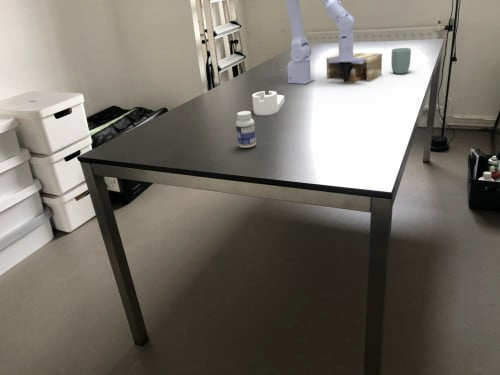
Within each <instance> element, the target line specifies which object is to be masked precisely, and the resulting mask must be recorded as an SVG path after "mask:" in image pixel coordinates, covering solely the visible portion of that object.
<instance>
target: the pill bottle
mask: <svg viewBox="0 0 500 375" xmlns="http://www.w3.org/2000/svg"><path fill="white" fill-rule="evenodd" d="M236 117H237V118H236V119H237V120H236V122H235V128H236V136H237V144H238V146H239V147H240V148H252V147H254V146H255V145H257V137H256V135H257V134H256V126H255V125H256V124H255V120H254V119H253V118H252V112H251V111H250V110H242V111H239V112H236Z"/></svg>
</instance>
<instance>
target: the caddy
mask: <svg viewBox="0 0 500 375" xmlns="http://www.w3.org/2000/svg"><path fill="white" fill-rule="evenodd" d="M365 78H367V68H363V66H362V65H354V66H353V68H352V70H351V73H350V76H349V80H348V81H343V82H344V83H345V82H346V83H356V82H358V81H361V80H362V79H365Z"/></svg>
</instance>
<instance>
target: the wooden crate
mask: <svg viewBox="0 0 500 375" xmlns="http://www.w3.org/2000/svg"><path fill="white" fill-rule="evenodd" d="M331 57H339V52H338V53H337V54H336V53H335V54H333V55H331V56H328V57H326V59H325V60H326V61H325V62H326V79H332V78H333V77H335V76H337V75H340V74H342V73H341V71H340V69H339V67H338V65H339V63H329V58H331ZM353 57H355V58H364V59H363V63H362V64H357V63H354V65H362V66H363V68H367V77H366V82H368V83H370V82H372V81H374V80H375V79H377V78H379V77H381V76H382V71H383V70H382V67H383V62H382V61H383V60H382V59H383V53H365V52H363V53H361V52H360V53H359V52H356V53H355V52H353Z"/></svg>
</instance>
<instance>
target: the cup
mask: <svg viewBox="0 0 500 375" xmlns="http://www.w3.org/2000/svg"><path fill="white" fill-rule="evenodd" d="M411 52H412V49H411V48H410V47H397V48H393V49H391V59H390V60H391V65H390V66H391V70H392V72H393V73H394V74H396V75H403V74H406V73H408V71H409V69H410V64H411V54H412V53H411Z"/></svg>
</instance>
